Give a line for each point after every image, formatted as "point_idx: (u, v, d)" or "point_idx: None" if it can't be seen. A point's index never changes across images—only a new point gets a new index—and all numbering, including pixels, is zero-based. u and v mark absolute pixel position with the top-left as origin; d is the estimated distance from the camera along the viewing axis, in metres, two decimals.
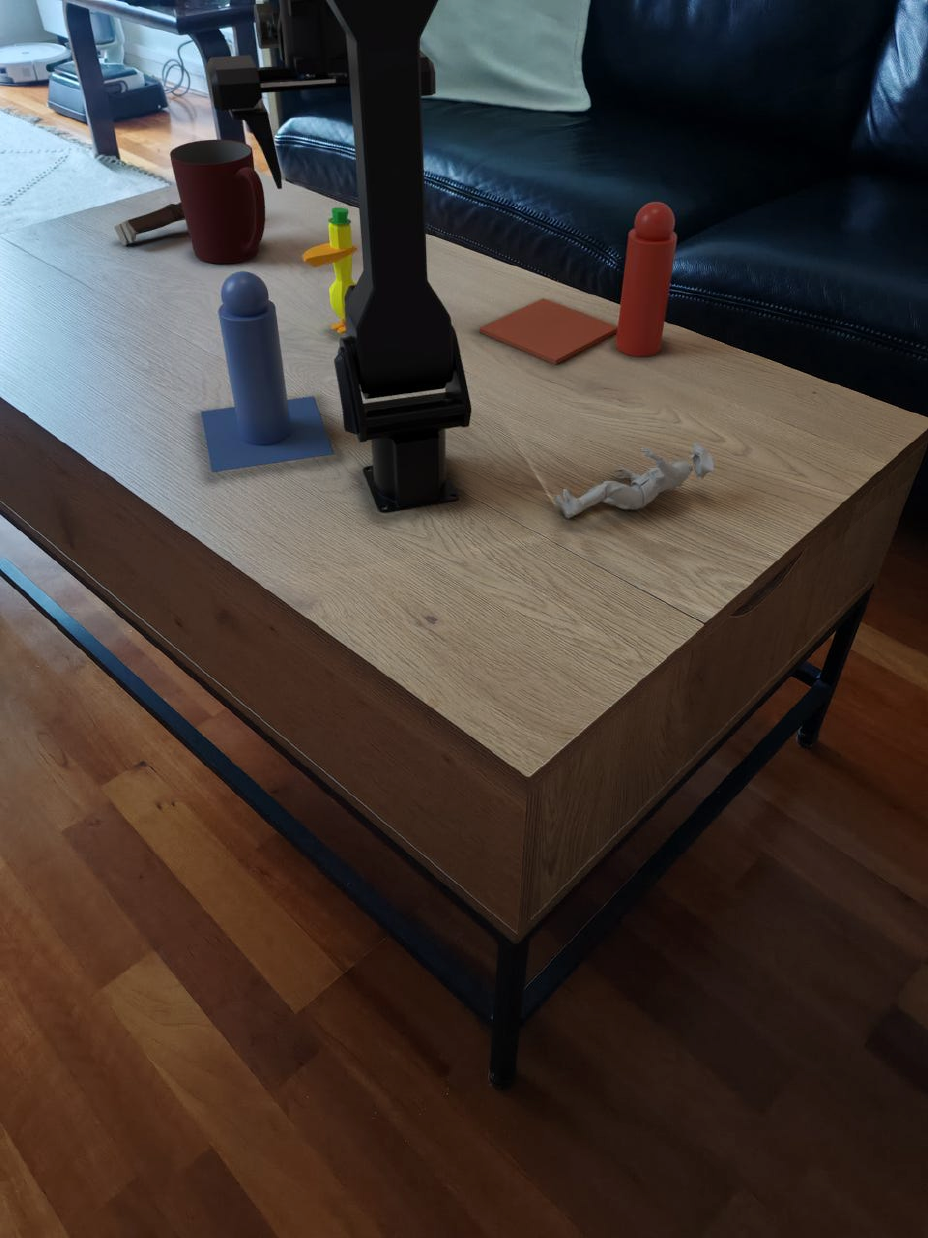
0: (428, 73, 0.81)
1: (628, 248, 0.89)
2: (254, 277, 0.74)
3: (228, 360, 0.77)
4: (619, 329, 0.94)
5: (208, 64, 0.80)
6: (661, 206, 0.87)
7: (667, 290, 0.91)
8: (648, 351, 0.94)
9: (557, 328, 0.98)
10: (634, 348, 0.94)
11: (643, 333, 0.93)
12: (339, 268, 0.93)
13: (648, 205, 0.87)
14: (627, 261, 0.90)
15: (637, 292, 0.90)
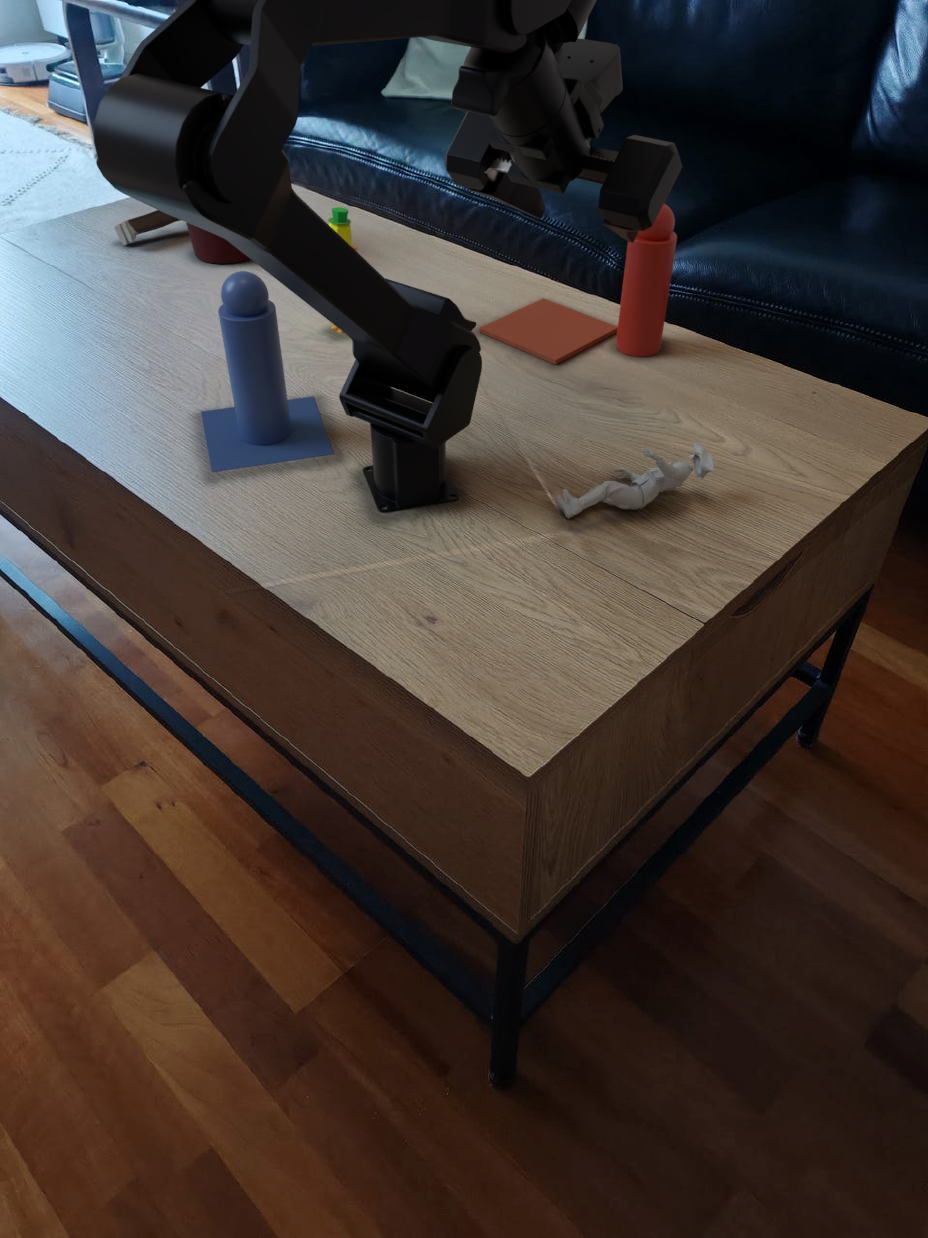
0: (634, 217, 0.72)
1: (628, 248, 0.89)
2: (254, 277, 0.74)
3: (228, 360, 0.77)
4: (619, 329, 0.94)
5: (464, 117, 0.79)
6: None
7: (667, 290, 0.91)
8: (648, 351, 0.94)
9: (557, 328, 0.98)
10: (634, 348, 0.94)
11: (643, 333, 0.93)
12: None
13: None
14: (627, 261, 0.90)
15: (637, 292, 0.90)
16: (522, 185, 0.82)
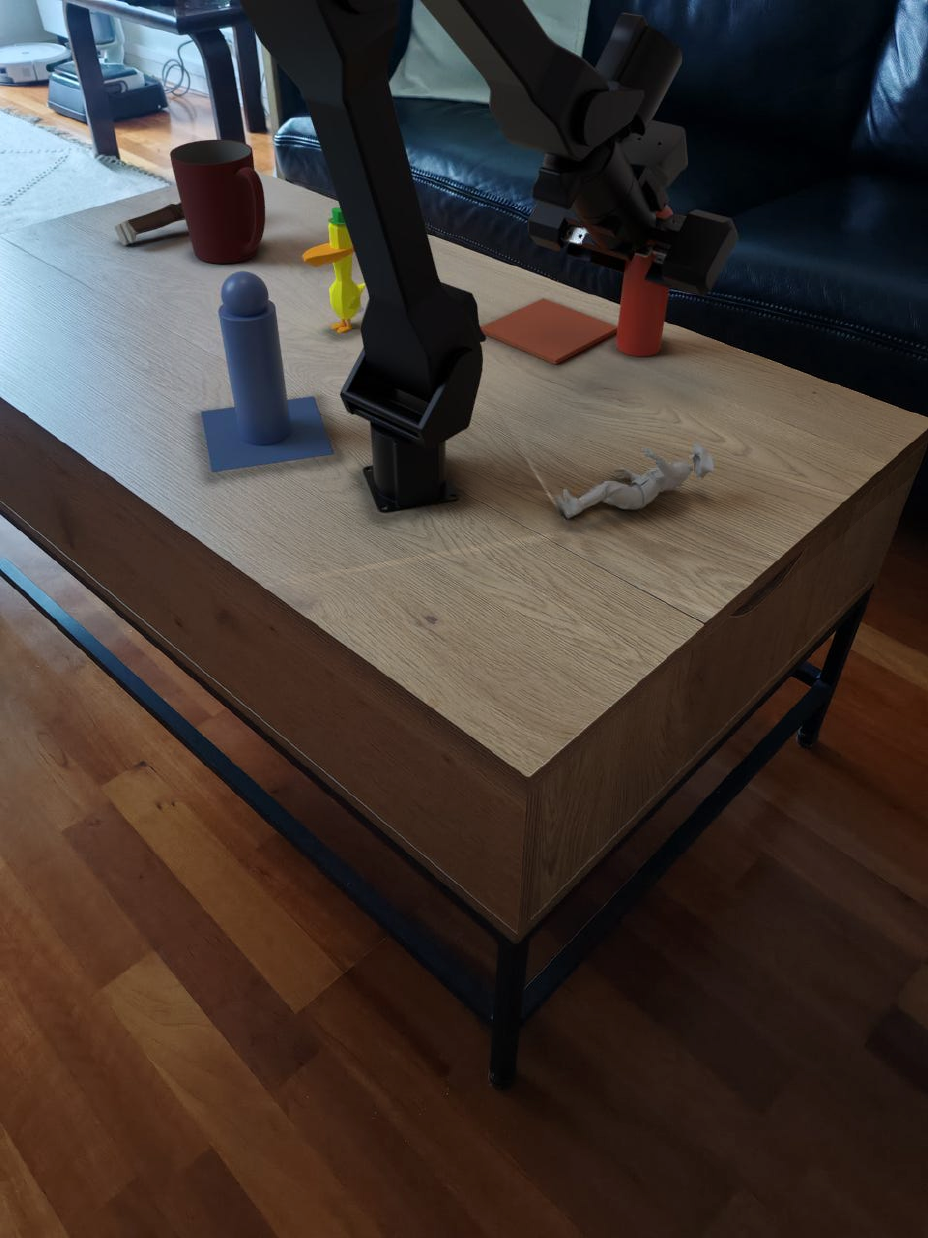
0: (693, 286, 0.81)
1: None
2: (254, 277, 0.74)
3: (228, 360, 0.77)
4: (619, 329, 0.94)
5: None
6: None
7: (667, 290, 0.91)
8: (648, 351, 0.94)
9: (557, 328, 0.98)
10: (634, 348, 0.94)
11: (643, 333, 0.93)
12: (339, 268, 0.93)
13: None
14: (627, 261, 0.90)
15: (637, 292, 0.90)
16: None
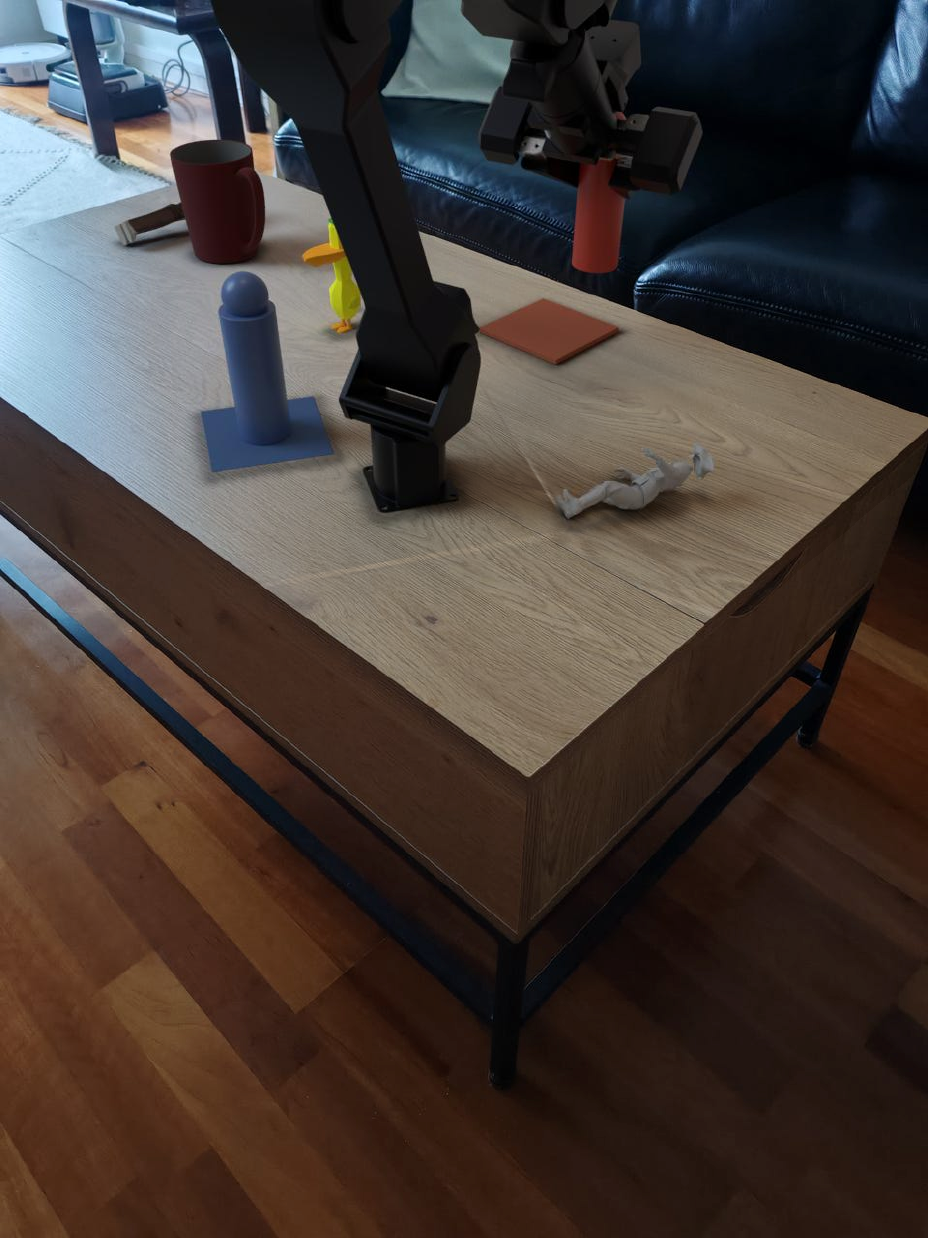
0: (665, 184, 0.79)
1: None
2: (254, 277, 0.74)
3: (228, 360, 0.77)
4: (576, 246, 0.92)
5: (493, 97, 0.85)
6: None
7: (623, 201, 0.89)
8: (608, 267, 0.92)
9: (557, 328, 0.98)
10: (594, 264, 0.92)
11: (602, 247, 0.91)
12: (339, 268, 0.93)
13: None
14: (582, 172, 0.88)
15: (595, 204, 0.88)
16: (570, 161, 0.87)
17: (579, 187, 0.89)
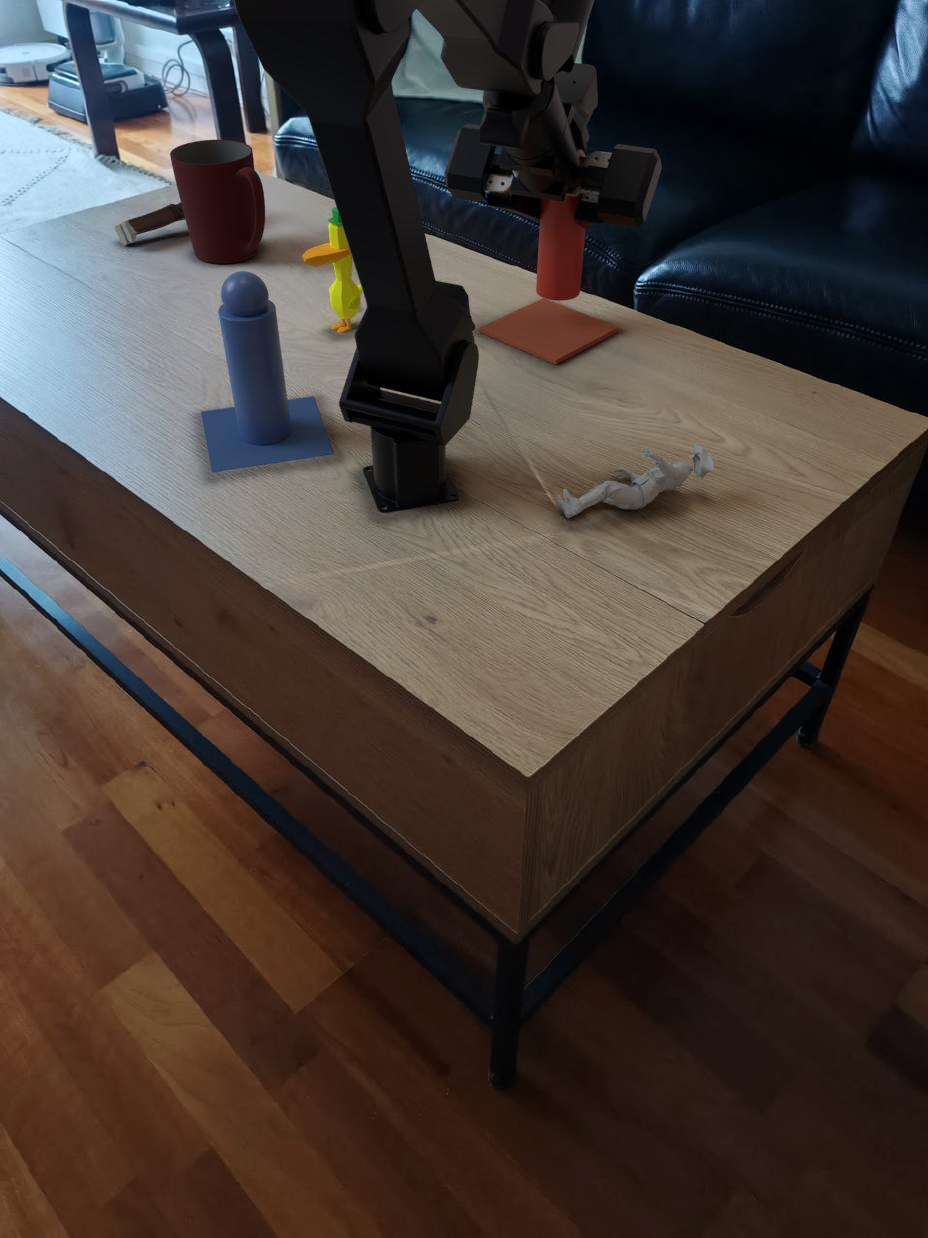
0: (631, 218, 0.83)
1: None
2: (254, 277, 0.74)
3: (228, 360, 0.77)
4: (540, 276, 0.95)
5: (456, 137, 0.87)
6: None
7: (584, 231, 0.93)
8: (572, 294, 0.96)
9: (557, 328, 0.98)
10: (558, 292, 0.95)
11: (566, 276, 0.94)
12: (339, 268, 0.93)
13: None
14: (544, 206, 0.91)
15: (558, 236, 0.92)
16: None
17: (542, 220, 0.92)
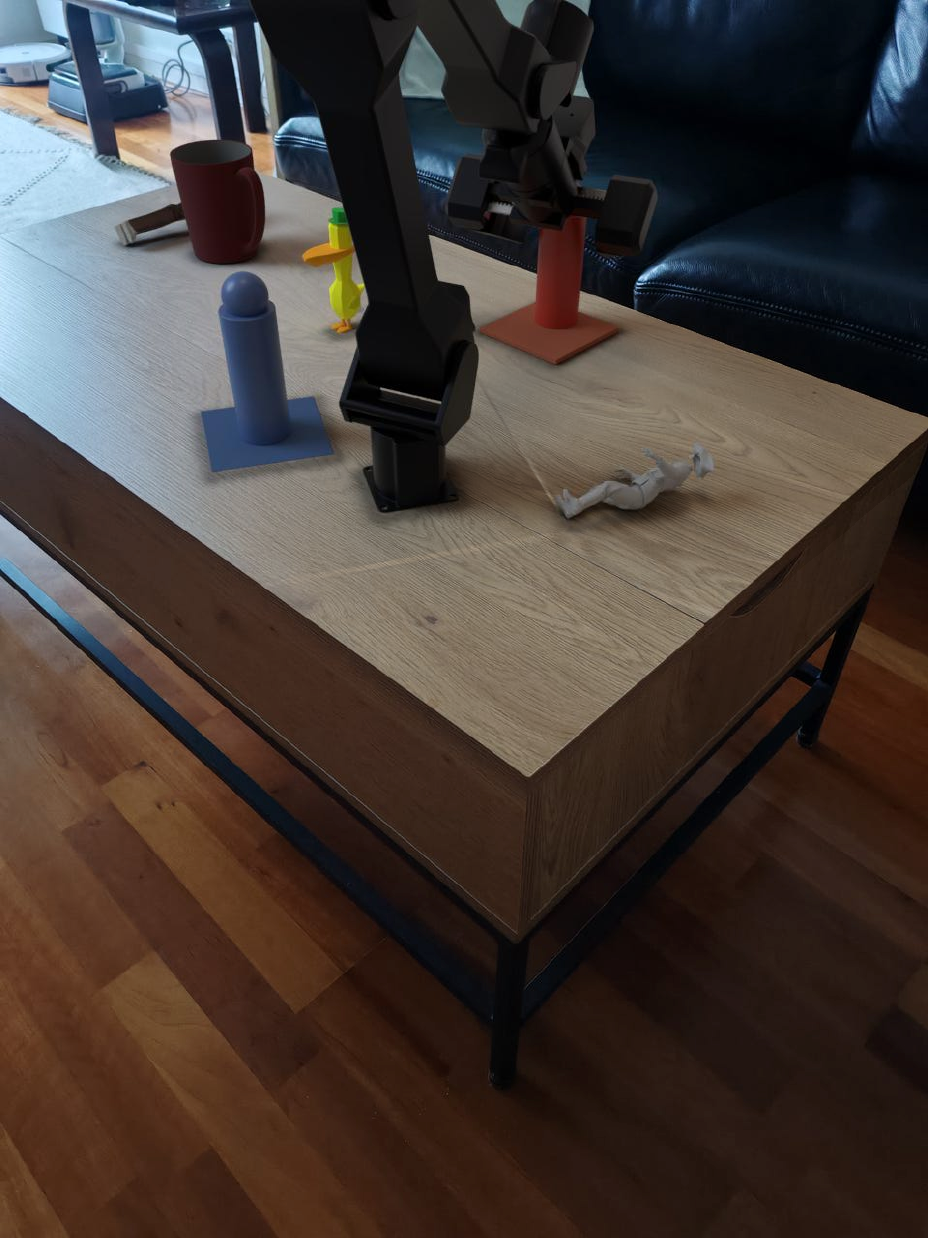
0: (628, 247, 0.84)
1: None
2: (254, 277, 0.74)
3: (228, 360, 0.77)
4: (539, 305, 0.97)
5: (457, 167, 0.89)
6: None
7: (582, 262, 0.95)
8: (570, 323, 0.98)
9: None
10: (556, 321, 0.97)
11: (564, 305, 0.96)
12: (339, 268, 0.93)
13: None
14: (543, 238, 0.93)
15: (556, 267, 0.94)
16: (509, 219, 0.93)
17: (540, 251, 0.94)
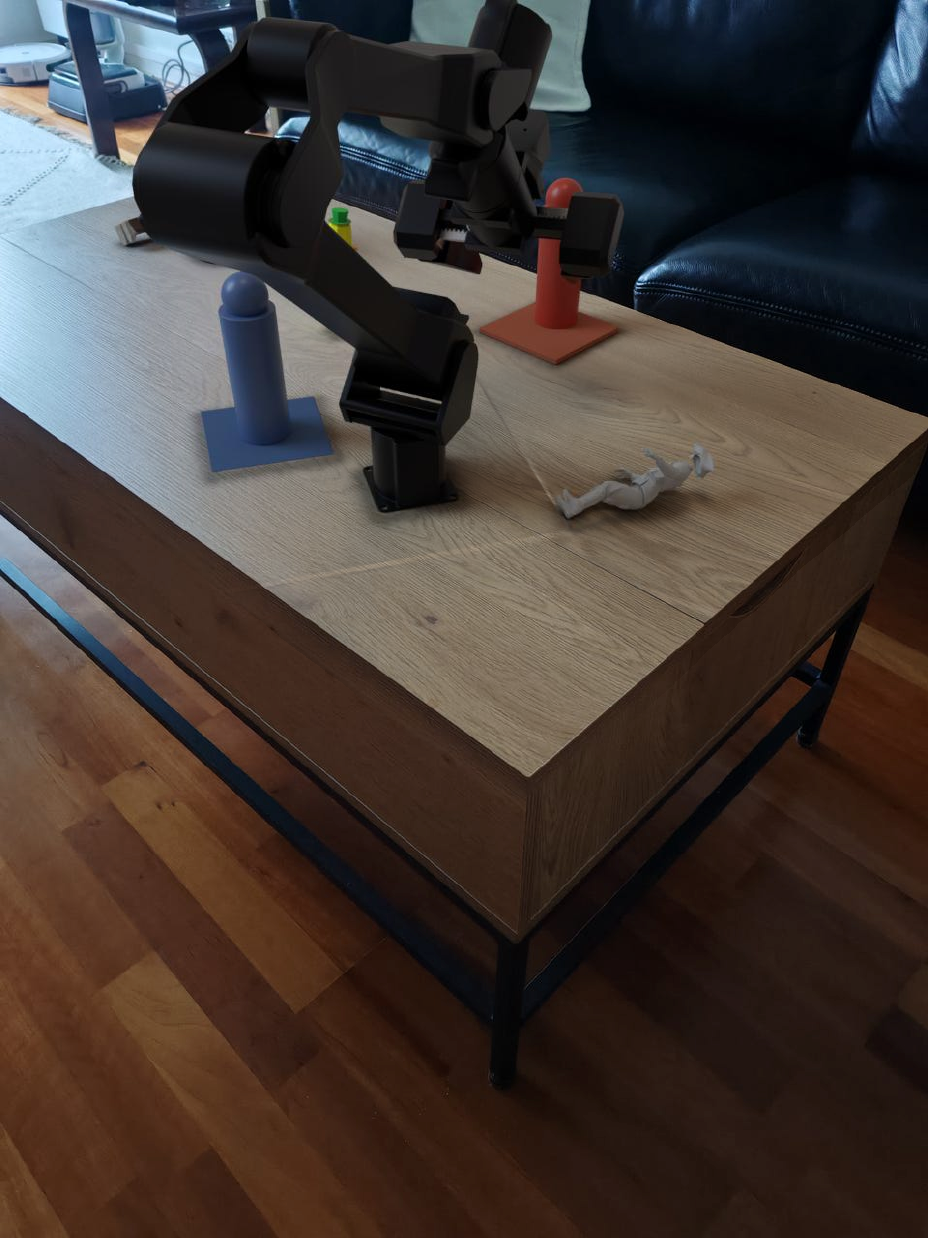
0: (596, 267, 0.77)
1: None
2: (254, 277, 0.74)
3: (228, 360, 0.77)
4: (539, 305, 0.97)
5: (403, 194, 0.82)
6: (571, 181, 0.90)
7: None
8: (570, 323, 0.98)
9: None
10: (556, 321, 0.97)
11: (564, 305, 0.96)
12: None
13: (558, 181, 0.90)
14: None
15: (556, 267, 0.94)
16: (464, 248, 0.86)
17: (540, 251, 0.94)
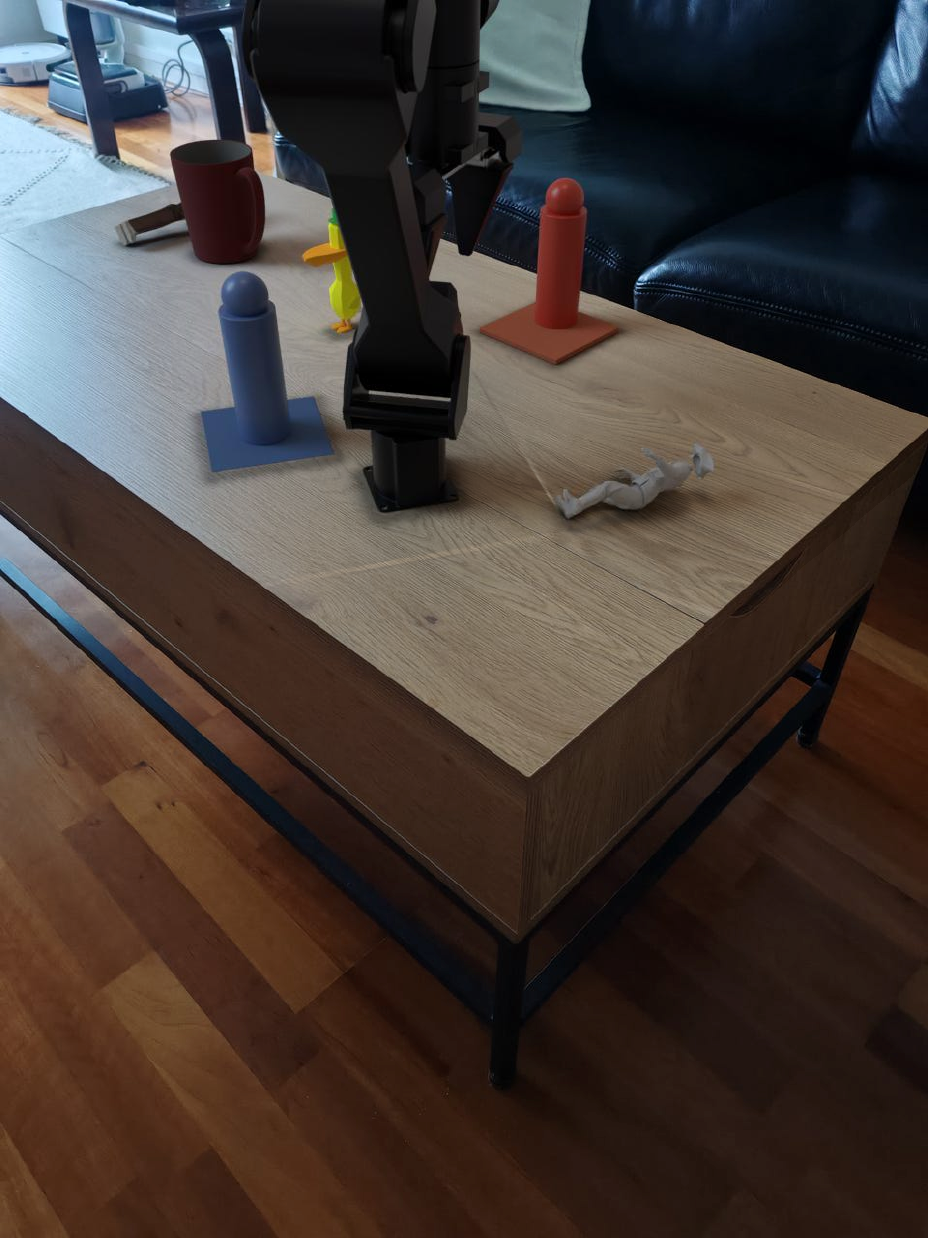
0: (521, 132, 0.78)
1: (543, 225, 0.92)
2: (254, 277, 0.74)
3: (228, 360, 0.77)
4: (539, 305, 0.97)
5: None
6: (571, 181, 0.90)
7: (582, 262, 0.95)
8: (570, 323, 0.98)
9: None
10: (556, 321, 0.97)
11: (564, 305, 0.96)
12: (339, 268, 0.93)
13: (558, 181, 0.90)
14: (543, 238, 0.93)
15: (556, 267, 0.94)
16: None
17: (540, 251, 0.94)
